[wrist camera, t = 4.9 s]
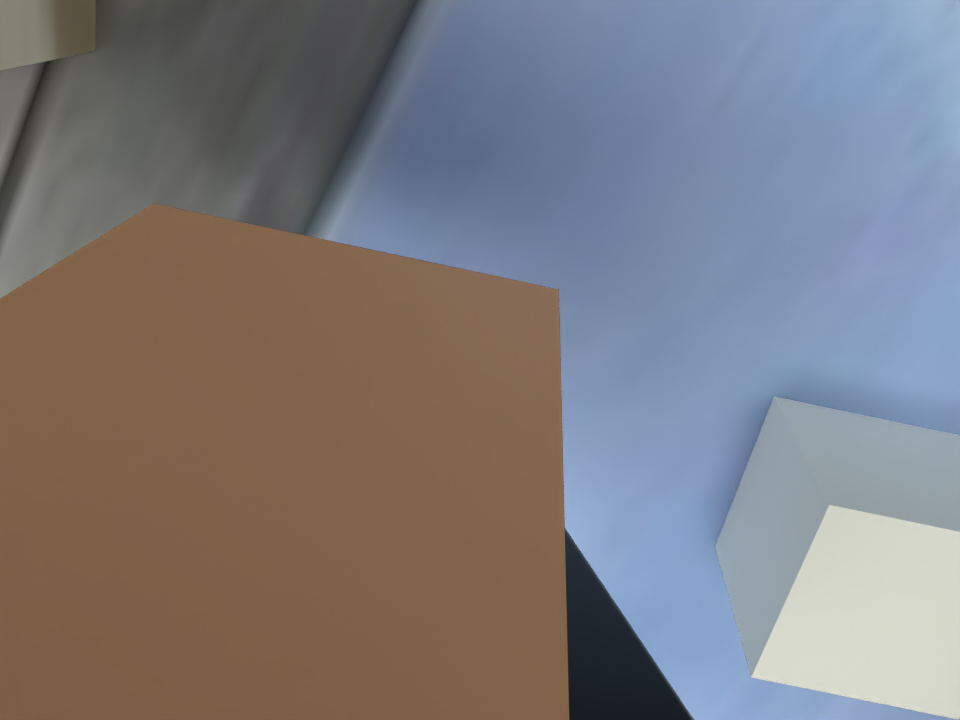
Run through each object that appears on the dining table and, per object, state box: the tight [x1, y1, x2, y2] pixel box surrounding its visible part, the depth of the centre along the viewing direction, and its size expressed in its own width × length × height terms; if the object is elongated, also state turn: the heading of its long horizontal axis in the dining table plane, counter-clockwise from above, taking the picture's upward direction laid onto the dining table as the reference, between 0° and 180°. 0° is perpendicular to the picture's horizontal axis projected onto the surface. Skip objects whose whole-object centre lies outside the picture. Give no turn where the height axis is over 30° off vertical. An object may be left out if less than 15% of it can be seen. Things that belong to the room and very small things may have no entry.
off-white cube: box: [715, 396, 960, 719], centre depth 21 cm, size 5×5×5 cm
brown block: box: [0, 204, 569, 720], centre depth 7 cm, size 4×4×7 cm
